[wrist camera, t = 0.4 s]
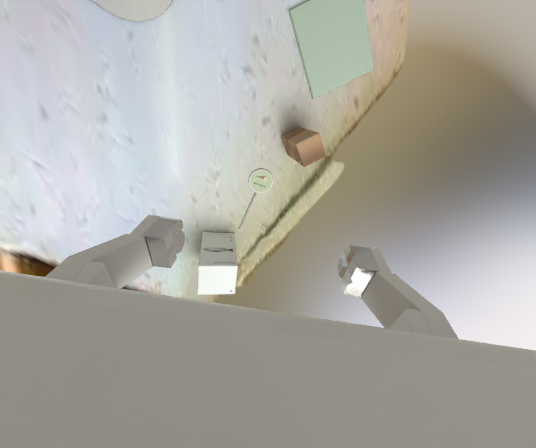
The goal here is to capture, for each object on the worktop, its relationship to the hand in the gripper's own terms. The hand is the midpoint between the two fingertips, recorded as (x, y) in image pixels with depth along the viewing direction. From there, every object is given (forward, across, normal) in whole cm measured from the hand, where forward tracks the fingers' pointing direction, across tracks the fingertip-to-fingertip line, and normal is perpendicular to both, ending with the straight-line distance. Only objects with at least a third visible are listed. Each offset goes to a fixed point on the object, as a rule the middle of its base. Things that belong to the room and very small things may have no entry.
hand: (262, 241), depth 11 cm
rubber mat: (+42, -7, -11) cm, 43 cm away
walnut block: (+38, -3, +5) cm, 38 cm away
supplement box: (+30, +11, +29) cm, 43 cm away
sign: (+34, +4, +18) cm, 39 cm away
